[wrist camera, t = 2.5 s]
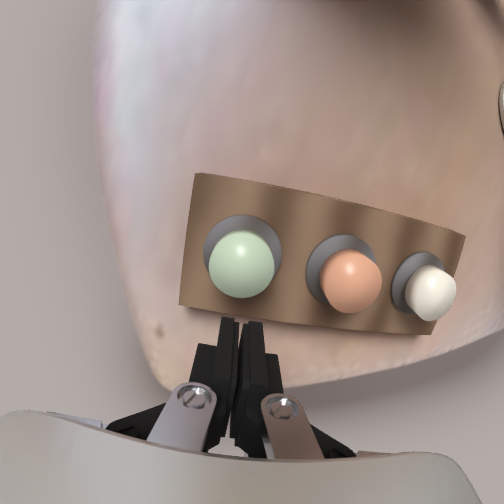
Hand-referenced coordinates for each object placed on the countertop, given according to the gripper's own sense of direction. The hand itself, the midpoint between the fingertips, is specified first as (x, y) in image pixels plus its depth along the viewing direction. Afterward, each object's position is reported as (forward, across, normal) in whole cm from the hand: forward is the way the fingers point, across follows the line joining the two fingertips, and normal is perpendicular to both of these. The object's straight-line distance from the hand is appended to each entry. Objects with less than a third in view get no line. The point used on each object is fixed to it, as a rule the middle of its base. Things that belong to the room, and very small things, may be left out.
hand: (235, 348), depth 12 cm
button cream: (+13, -18, 0) cm, 22 cm away
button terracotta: (+13, -9, 0) cm, 15 cm away
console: (+17, -9, 0) cm, 19 cm away
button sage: (+12, 0, 0) cm, 12 cm away
